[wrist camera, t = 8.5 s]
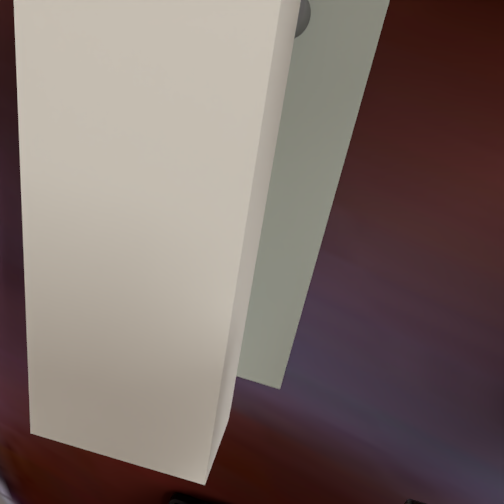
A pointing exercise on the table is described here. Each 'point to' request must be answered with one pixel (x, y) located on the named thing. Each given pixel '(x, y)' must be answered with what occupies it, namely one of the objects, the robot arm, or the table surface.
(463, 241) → the table surface
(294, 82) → the peg stand
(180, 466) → the shelf board
